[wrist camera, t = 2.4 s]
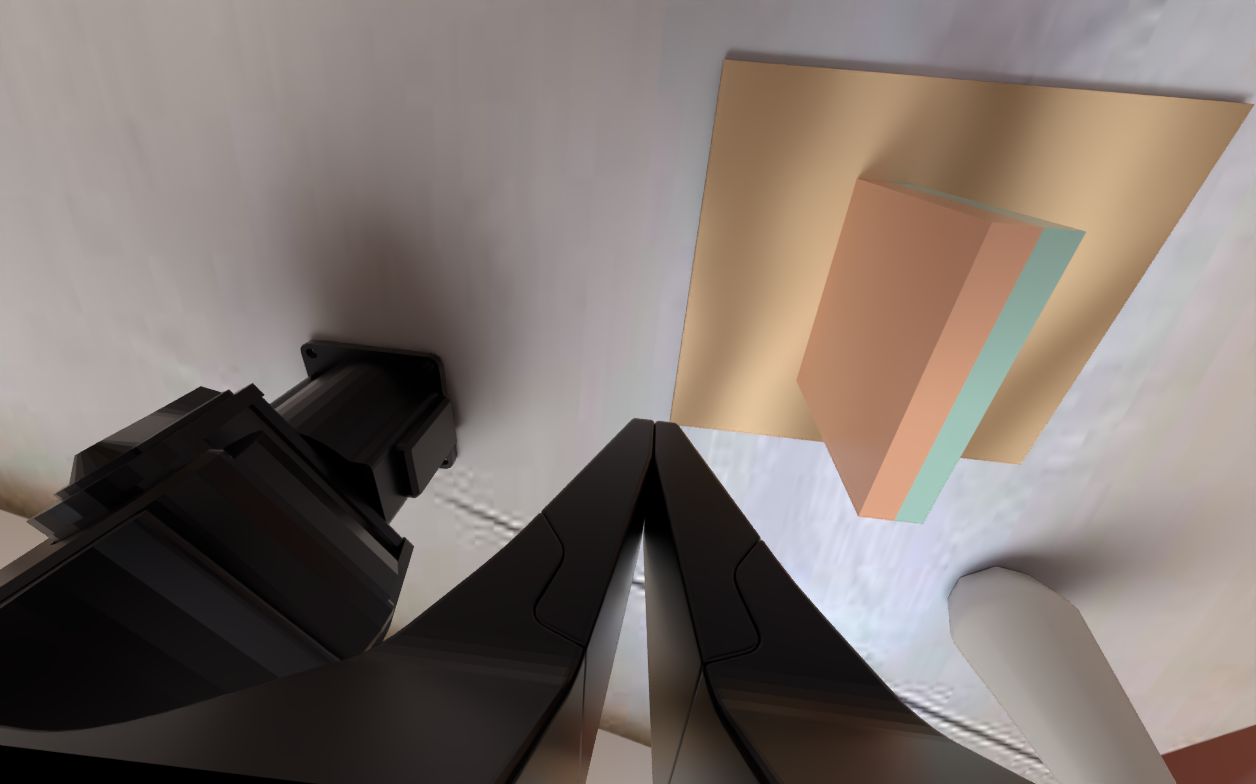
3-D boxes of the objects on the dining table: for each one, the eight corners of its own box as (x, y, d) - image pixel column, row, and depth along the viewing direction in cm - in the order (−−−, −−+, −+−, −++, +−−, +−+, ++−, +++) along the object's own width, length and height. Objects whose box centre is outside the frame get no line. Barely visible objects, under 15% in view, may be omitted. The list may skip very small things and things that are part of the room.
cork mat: (670, 419, 22) (669, 424, 22) (723, 60, 15) (724, 59, 15) (1015, 459, 22) (1020, 464, 21) (1240, 104, 14) (1254, 104, 14)
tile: (796, 380, 20) (858, 516, 13) (856, 178, 16) (992, 222, 9) (838, 385, 20) (922, 524, 13) (910, 183, 16) (1086, 231, 9)
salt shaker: (1074, 583, 25) (1394, 955, 14) (986, 635, 28) (1192, 980, 17) (992, 541, 24) (1264, 904, 13) (909, 599, 27) (1074, 940, 16)
